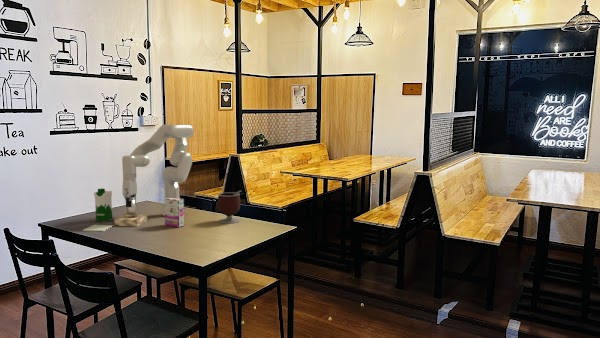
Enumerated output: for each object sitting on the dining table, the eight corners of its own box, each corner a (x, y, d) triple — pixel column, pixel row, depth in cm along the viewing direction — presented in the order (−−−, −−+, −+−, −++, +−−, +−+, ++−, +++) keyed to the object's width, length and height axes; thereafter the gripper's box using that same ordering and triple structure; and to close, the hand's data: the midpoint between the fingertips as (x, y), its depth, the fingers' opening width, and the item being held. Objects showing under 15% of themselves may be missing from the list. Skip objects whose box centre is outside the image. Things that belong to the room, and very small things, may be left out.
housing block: (147, 220, 279) (147, 214, 278) (137, 226, 265) (137, 219, 264) (125, 220, 280) (125, 214, 279) (114, 225, 266) (114, 219, 265)
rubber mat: (113, 226, 265) (113, 225, 265) (103, 231, 253) (103, 230, 253) (94, 225, 266) (94, 224, 266) (82, 230, 254) (82, 229, 254)
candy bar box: (184, 226, 267) (184, 198, 265) (178, 227, 262) (178, 200, 261) (170, 223, 272) (170, 197, 270) (164, 225, 268) (163, 198, 266)
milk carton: (93, 221, 276) (92, 189, 273) (101, 218, 285) (100, 187, 282) (107, 222, 275) (106, 189, 273) (114, 218, 284) (113, 187, 281)
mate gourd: (213, 222, 275) (213, 190, 273) (224, 218, 288) (224, 187, 286) (236, 225, 270) (236, 192, 268) (246, 220, 283) (246, 188, 281)
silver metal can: (137, 213, 274) (136, 196, 273) (133, 214, 269) (132, 198, 268) (129, 212, 275) (128, 196, 273) (125, 214, 270) (124, 198, 268)
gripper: (130, 174, 278) (131, 203, 280) (116, 178, 261) (118, 208, 263) (142, 174, 277) (143, 203, 279) (129, 178, 260) (130, 209, 263)
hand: (131, 205), depth 271 cm, fingers closed on silver metal can, 5 cm apart
